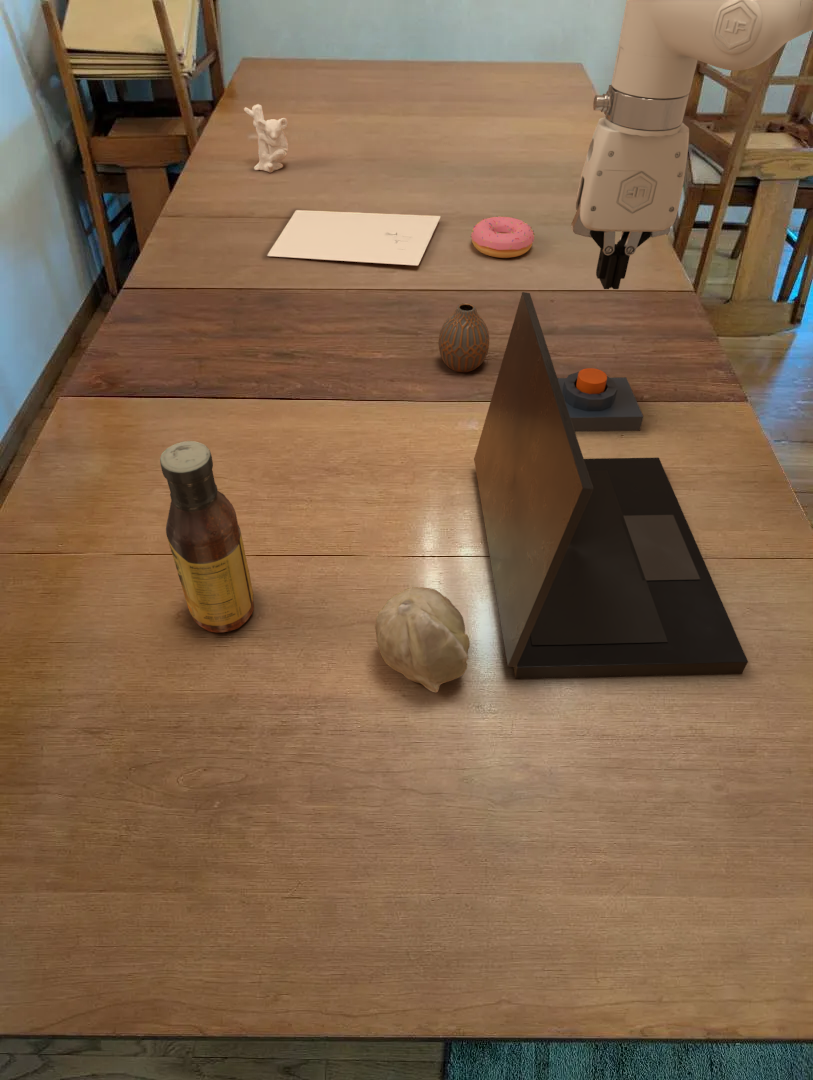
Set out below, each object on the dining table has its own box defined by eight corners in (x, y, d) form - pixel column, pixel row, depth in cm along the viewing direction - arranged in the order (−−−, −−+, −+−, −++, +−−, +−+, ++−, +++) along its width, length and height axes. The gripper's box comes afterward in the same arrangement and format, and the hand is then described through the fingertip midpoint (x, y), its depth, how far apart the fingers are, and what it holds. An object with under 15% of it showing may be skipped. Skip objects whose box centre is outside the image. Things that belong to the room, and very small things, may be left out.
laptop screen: (530, 293, 78) (522, 291, 78) (595, 489, 57) (583, 487, 56) (481, 459, 92) (473, 459, 92) (517, 667, 71) (507, 666, 71)
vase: (462, 347, 114) (465, 289, 108) (497, 366, 111) (503, 308, 105) (427, 363, 111) (429, 305, 105) (462, 384, 107) (466, 325, 101)
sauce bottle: (205, 584, 80) (167, 422, 66) (264, 594, 79) (238, 432, 65) (179, 633, 75) (132, 470, 62) (241, 644, 74) (207, 481, 61)
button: (601, 379, 102) (603, 367, 101) (607, 395, 99) (610, 383, 98) (573, 379, 102) (575, 368, 101) (579, 395, 99) (581, 383, 98)
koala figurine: (246, 172, 164) (238, 109, 155) (256, 161, 169) (249, 99, 160) (285, 176, 163) (280, 112, 154) (295, 164, 168) (290, 102, 159)
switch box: (623, 391, 106) (629, 365, 104) (639, 431, 100) (646, 404, 97) (534, 392, 106) (538, 366, 103) (545, 432, 100) (549, 405, 97)
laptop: (655, 469, 94) (659, 456, 93) (742, 673, 73) (748, 661, 71) (480, 471, 94) (481, 459, 92) (515, 679, 72) (517, 666, 71)
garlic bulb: (458, 706, 73) (489, 670, 64) (366, 702, 71) (385, 666, 63) (453, 611, 77) (481, 566, 69) (367, 606, 76) (385, 559, 67)
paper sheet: (413, 276, 130) (413, 270, 129) (252, 258, 136) (251, 252, 135) (449, 221, 146) (449, 215, 145) (303, 207, 152) (302, 201, 152)
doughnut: (488, 266, 134) (491, 241, 131) (459, 240, 141) (460, 217, 138) (544, 255, 137) (547, 231, 134) (512, 231, 144) (515, 208, 141)
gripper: (578, 120, 75) (549, 299, 88) (732, 122, 76) (681, 299, 89) (564, 96, 81) (538, 268, 93) (708, 98, 81) (663, 269, 94)
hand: (608, 283), depth 91 cm, fingers closed
